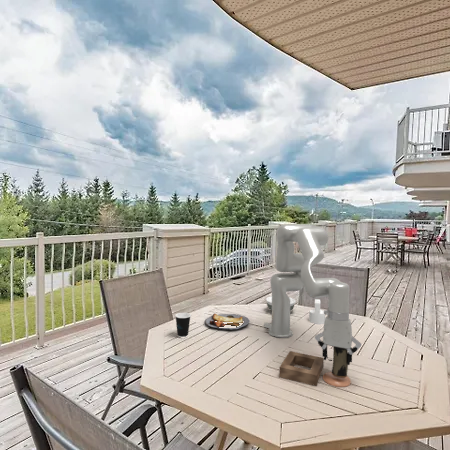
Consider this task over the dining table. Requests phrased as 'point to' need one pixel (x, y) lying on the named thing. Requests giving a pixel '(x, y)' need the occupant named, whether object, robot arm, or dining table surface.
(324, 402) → the dining table surface
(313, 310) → the cylinder with rectangular tab
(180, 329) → the dixie cup
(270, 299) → the bowl
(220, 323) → the food plate
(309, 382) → the frame
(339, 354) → the mug
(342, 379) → the peach smooth round part
